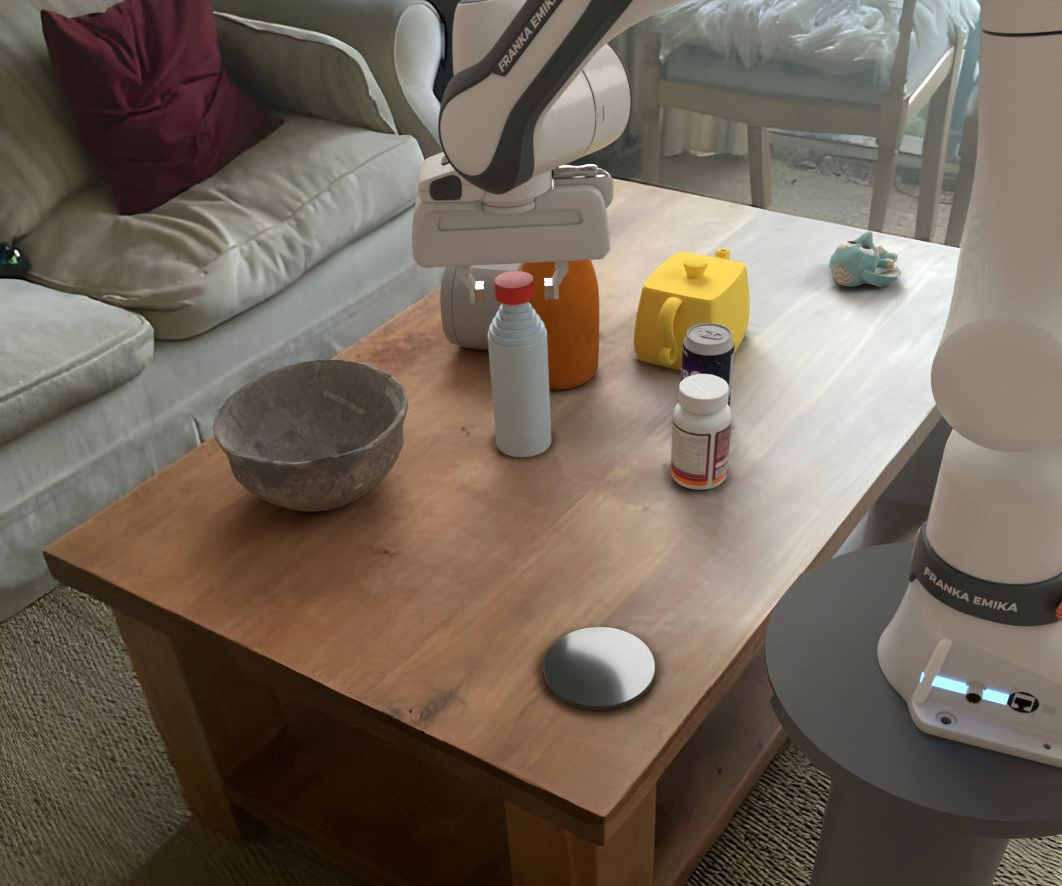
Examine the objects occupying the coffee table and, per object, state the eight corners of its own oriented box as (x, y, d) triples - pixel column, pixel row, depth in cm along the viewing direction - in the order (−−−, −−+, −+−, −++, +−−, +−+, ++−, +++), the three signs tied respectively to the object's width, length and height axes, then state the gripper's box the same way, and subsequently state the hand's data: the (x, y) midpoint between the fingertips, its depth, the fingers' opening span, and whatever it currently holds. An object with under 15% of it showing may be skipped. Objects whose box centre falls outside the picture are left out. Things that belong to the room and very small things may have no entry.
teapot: (681, 301, 151) (685, 218, 144) (766, 318, 146) (775, 234, 139) (617, 368, 138) (617, 281, 131) (708, 390, 134) (714, 301, 126)
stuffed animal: (931, 236, 151) (881, 247, 144) (916, 287, 155) (866, 300, 148) (866, 215, 157) (815, 224, 150) (853, 264, 161) (803, 275, 154)
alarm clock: (493, 291, 156) (485, 199, 147) (557, 297, 154) (554, 204, 145) (444, 363, 141) (433, 265, 133) (515, 371, 139) (508, 272, 130)
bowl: (270, 428, 132) (252, 354, 125) (436, 436, 129) (427, 361, 122) (203, 535, 116) (179, 457, 110) (391, 548, 113) (377, 468, 107)
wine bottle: (515, 391, 135) (499, 146, 116) (529, 352, 143) (516, 114, 123) (594, 396, 134) (591, 147, 114) (604, 355, 141) (603, 115, 121)
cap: (488, 295, 115) (486, 278, 114) (519, 283, 117) (518, 267, 116) (510, 309, 113) (509, 292, 112) (541, 296, 115) (541, 280, 113)
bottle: (561, 436, 127) (556, 278, 115) (531, 463, 123) (522, 303, 111) (516, 421, 130) (506, 266, 118) (485, 447, 126) (471, 290, 114)
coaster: (675, 656, 99) (675, 651, 99) (619, 727, 93) (619, 722, 93) (581, 617, 104) (581, 612, 103) (522, 683, 98) (521, 678, 97)
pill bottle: (716, 455, 123) (722, 367, 116) (734, 487, 118) (742, 396, 111) (663, 464, 122) (666, 375, 115) (679, 496, 118) (684, 405, 110)
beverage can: (688, 409, 130) (693, 317, 123) (734, 419, 128) (742, 326, 121) (671, 433, 127) (675, 340, 119) (718, 444, 125) (725, 350, 117)
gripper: (611, 151, 109) (611, 281, 118) (406, 162, 110) (422, 290, 119) (615, 175, 104) (615, 308, 113) (401, 186, 105) (418, 317, 114)
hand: (514, 299), depth 116 cm, fingers open, 6 cm apart
